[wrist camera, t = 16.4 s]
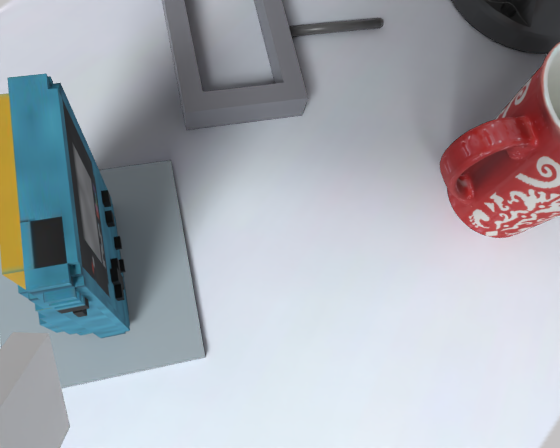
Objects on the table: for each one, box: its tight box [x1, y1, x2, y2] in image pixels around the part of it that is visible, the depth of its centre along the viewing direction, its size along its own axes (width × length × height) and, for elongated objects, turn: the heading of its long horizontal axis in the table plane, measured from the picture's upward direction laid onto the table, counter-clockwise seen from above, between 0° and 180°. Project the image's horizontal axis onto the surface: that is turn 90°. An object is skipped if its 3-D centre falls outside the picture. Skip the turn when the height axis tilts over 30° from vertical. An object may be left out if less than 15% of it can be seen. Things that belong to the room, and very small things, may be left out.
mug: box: [440, 42, 560, 238], centre depth 34 cm, size 13×9×14 cm
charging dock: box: [162, 0, 384, 130], centre depth 42 cm, size 18×15×2 cm
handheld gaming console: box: [0, 74, 130, 338], centre depth 27 cm, size 10×4×15 cm, turn 13°
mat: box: [0, 160, 205, 388], centre depth 34 cm, size 12×14×1 cm
